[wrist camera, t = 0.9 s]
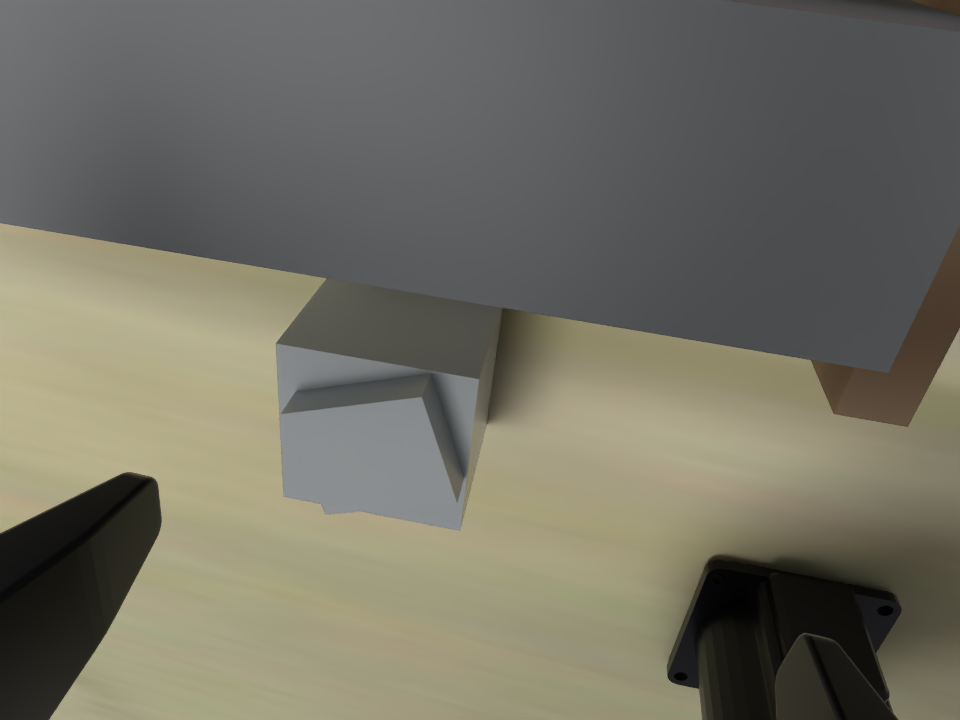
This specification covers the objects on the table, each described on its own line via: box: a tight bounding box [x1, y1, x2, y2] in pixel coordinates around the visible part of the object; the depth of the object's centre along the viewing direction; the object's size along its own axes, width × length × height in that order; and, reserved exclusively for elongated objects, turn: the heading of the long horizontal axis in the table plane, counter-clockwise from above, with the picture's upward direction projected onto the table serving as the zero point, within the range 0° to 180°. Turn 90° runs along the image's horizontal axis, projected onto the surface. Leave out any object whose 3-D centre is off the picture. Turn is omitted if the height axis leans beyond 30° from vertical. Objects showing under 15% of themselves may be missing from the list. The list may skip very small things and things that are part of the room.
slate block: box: [276, 278, 503, 531], centre depth 21 cm, size 5×5×6 cm
